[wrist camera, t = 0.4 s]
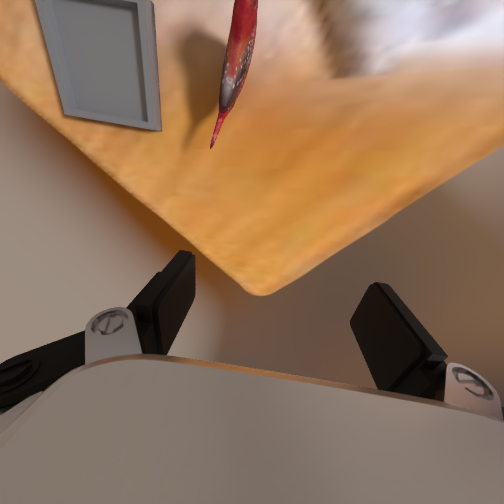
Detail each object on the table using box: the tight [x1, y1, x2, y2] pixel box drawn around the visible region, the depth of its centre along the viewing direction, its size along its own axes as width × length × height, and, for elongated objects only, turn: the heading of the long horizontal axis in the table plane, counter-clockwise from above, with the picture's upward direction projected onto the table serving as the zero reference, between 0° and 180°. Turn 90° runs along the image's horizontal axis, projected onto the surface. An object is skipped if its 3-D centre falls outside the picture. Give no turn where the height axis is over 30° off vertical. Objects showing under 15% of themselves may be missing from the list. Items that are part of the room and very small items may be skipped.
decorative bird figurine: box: [210, 0, 258, 149], centre depth 26 cm, size 3×18×10 cm, turn 157°
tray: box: [35, 0, 162, 131], centre depth 30 cm, size 15×15×2 cm
